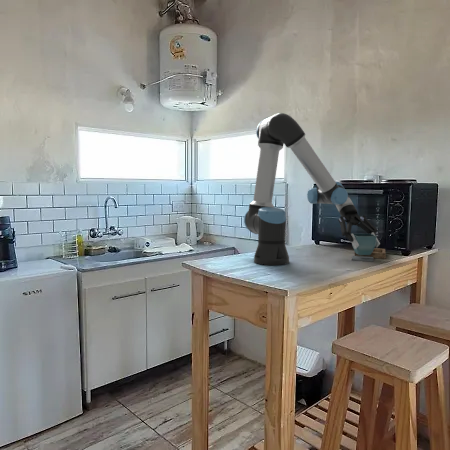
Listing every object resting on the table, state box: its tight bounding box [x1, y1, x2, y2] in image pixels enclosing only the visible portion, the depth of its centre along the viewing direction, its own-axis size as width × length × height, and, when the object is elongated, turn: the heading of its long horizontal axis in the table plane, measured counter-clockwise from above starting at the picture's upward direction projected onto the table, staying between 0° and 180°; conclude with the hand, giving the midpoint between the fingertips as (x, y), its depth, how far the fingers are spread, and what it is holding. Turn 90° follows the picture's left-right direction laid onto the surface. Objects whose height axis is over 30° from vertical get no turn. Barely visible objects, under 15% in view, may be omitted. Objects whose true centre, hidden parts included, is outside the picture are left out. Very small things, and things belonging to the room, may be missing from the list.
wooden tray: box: [354, 247, 387, 260], centre depth 192 cm, size 13×13×2 cm
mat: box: [351, 255, 374, 263], centre depth 183 cm, size 9×9×1 cm
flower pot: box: [351, 233, 378, 255], centre depth 182 cm, size 9×9×9 cm
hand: (367, 246), depth 180 cm, fingers closed on flower pot, 11 cm apart
